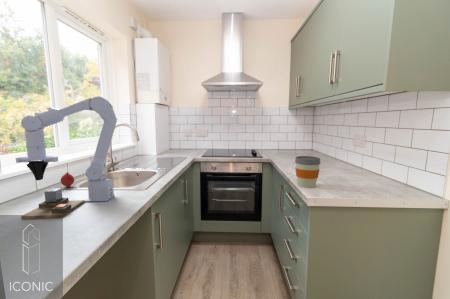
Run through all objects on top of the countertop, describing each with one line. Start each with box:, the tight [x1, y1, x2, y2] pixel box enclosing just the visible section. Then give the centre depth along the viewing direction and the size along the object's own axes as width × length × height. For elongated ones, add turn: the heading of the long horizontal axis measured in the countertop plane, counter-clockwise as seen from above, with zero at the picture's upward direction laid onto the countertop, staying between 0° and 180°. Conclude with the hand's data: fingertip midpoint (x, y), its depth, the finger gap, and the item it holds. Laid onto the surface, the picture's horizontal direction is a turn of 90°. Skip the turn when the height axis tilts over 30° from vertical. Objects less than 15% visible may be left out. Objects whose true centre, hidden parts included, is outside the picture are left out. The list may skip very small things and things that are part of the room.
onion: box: [60, 171, 75, 188], centre depth 117 cm, size 6×6×8 cm
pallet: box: [20, 197, 86, 220], centre depth 87 cm, size 14×15×3 cm
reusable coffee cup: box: [294, 155, 321, 189], centre depth 120 cm, size 13×13×15 cm
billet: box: [44, 187, 64, 203], centre depth 90 cm, size 4×4×6 cm
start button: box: [56, 204, 67, 208], centre depth 84 cm, size 3×3×2 cm
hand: (39, 179), depth 92 cm, fingers closed
